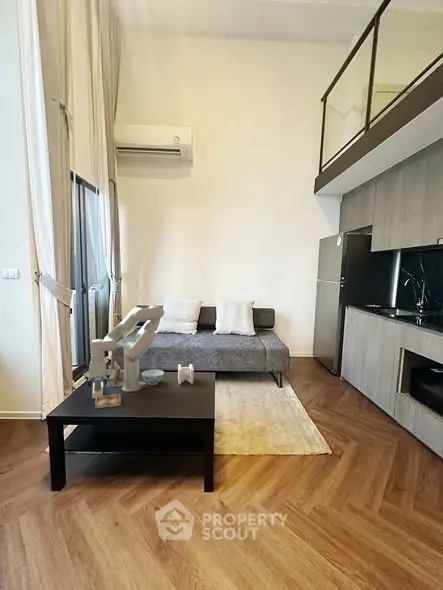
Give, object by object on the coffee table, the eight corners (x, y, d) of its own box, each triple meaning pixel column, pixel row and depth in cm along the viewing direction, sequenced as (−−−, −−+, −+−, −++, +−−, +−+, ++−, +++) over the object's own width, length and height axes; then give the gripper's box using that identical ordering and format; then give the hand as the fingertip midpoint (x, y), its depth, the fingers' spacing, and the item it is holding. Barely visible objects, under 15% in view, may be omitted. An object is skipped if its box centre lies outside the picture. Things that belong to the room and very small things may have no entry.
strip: (102, 386, 213) (102, 381, 213) (102, 397, 195) (102, 391, 194) (93, 387, 211) (93, 381, 211) (92, 398, 193) (92, 392, 192)
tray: (119, 397, 195) (119, 393, 195) (120, 405, 184) (120, 401, 184) (95, 400, 191) (95, 396, 190) (95, 408, 179) (95, 404, 179)
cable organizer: (177, 378, 234) (178, 363, 233) (192, 378, 236) (192, 363, 235) (178, 385, 219) (178, 369, 218) (193, 385, 221) (194, 369, 220)
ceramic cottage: (100, 385, 216) (102, 363, 215) (117, 378, 231) (118, 358, 230) (119, 390, 210) (121, 368, 209) (134, 383, 226) (136, 363, 225)
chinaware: (145, 379, 230) (145, 369, 229) (165, 380, 229) (165, 370, 229) (139, 386, 215) (139, 375, 214) (160, 387, 214) (161, 376, 214)
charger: (101, 390, 204) (101, 377, 203) (101, 394, 198) (101, 380, 198) (94, 391, 202) (94, 378, 202) (94, 394, 197) (94, 381, 196)
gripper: (112, 356, 205) (111, 382, 206) (83, 358, 199) (83, 385, 200) (112, 359, 198) (112, 386, 199) (82, 361, 192) (82, 389, 193)
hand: (97, 385), depth 200 cm, fingers open, 8 cm apart
